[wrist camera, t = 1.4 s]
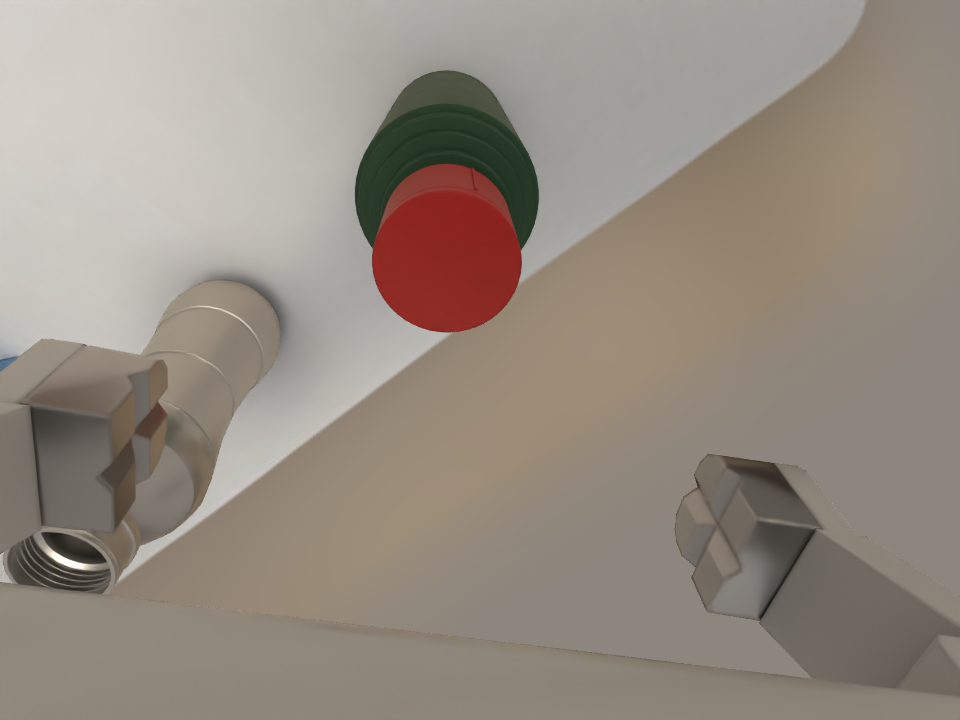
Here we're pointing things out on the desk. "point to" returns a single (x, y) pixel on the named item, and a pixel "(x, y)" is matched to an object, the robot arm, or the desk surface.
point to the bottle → (446, 148)
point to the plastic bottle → (168, 435)
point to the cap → (446, 249)
